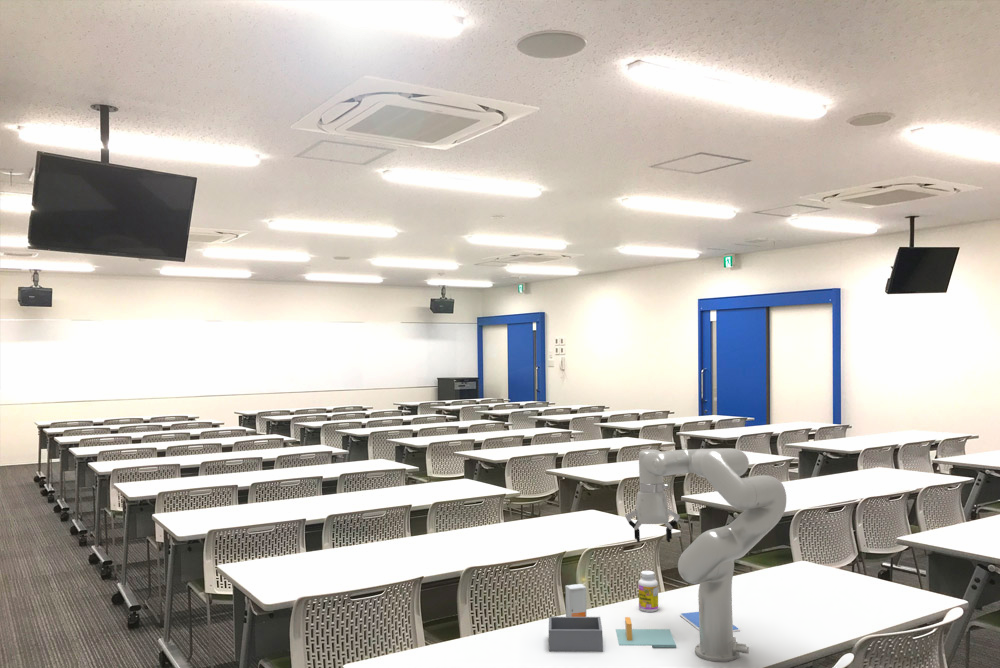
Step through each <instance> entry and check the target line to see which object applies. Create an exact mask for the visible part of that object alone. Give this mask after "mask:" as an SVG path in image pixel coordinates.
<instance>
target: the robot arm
mask: <svg viewBox="0 0 1000 668" xmlns="http://www.w3.org/2000/svg"><path fill="white" fill-rule="evenodd" d="M749 464H750V461H749V458H748V456H747V455H746V454H745V452H744V451H742V450H740V449H738V448H731V447H730V448H724V447H723V448H721V447H720V448H697V449H695V448H694V449H675V450H666V451H660V449H659V450H658V449H652V448H651V449H642V450H640V451H639V453H638V473H639V478H638V479H639V491H637V493H636V494H637V495H636V501H635V502H636V505H635V510H633V511H631V512H629V513H627V514H626V515H625V519H626V521H627V522H628V524H629V525H630V526H631V527H632V529H633V530H634V532H633V533H634V540H636V542H637V543H641V542H640V541H641V539H640V538H641V536H640V527H641V525H665V526H666V528H665V535H666V539H665V540H666V542H668V543H670V542H671V540H672V538H673V537H672V535H673V529H674V527H675V526H676V525H677V523H678V522H679V520H680V517H681V515H680V514H678V513H676V512H674V511H672V510H671V509H669V504H668V499H667V494H666V491H665V490H666V489H669V485H668V484H666V483H664V477H667V476H673V475H680V474H695V475H696V476H698V477H700V478H704V479H706V481H707V482H708V483H709V484H710V485H711V486H712V487H713V489H715V490H716V492H718V493H719V495H720V496H721V497H722V498H723V499H724V500H725V501H726V503H728V505H730V506H731V507H733V508H734V509H737V510H738V511H739V510H740V511H743V512H741V513H740V514H738V515H737V516H736V518H735V519H734V520H733V521H732V522H730V523H729V524H728V525H724V526H721V527H717V528H716V527H715V528H712V529H708V530H706V531H704V532H702V533H700V535H698V536H697V537H696V538H695V539H694V540H693V542H691V543H690V544H689V545H688V547H686V549H685V550H684V551H682V553H681V555H680V556H679V558H678V561H677V569H678V573H679V576H680V577H681V578H682V579H683V581H685V582H687V583H689V584H693V585H694V584H695V585H697V584H699V586H698V587H699V588H698V594H697V595H698V596H697V597H698V612H699V629H700V631H699V643H698V644H696V646H695V647H694V653H695V655H697V657H699V658H701V659H704V660H707V661H713V662H731V661H734V660H736V659H738V658H739V656H740V653H742V654H747V655H749V651H750V650H749V649H750V648H749V646H747V644H746V643H739V642H737V638H736V637H734V632H733V625H734V623H733V596H732V595H733V594H732V593H733V592H732V590H733V589H732V588H733V587H732V586H733V577H734V571H735V560H739V559H741V558H743V557H745V555H746V554H747V553H749V551H751V550H752V549H753V547H755V546H756V545H757V544H758V543H759V542H760V541H761V540H762V539H763V538H764V537H765V536H766V535H768V533H769V532H771V530H772V529H774V528H775V527H776V526H777V524H778V523H779V522H780V520H781V519H782V517H783V516H784V514H785V511H786V508H787V494H786V493H787V491H786V490H785V486H784V484H783V483H782V481H780V480H779V479H778V478H777V477H774V476H771V475H768V474H767V475H766V474H764V475H762V474H761V475H759V474H758V475H754V476H748V477H742V478H741V476H743V475H744V474H746V472H747V471H748V470H749V469H748V468H749V466H750V465H749ZM669 516H671V517H673V519H672V520H671V521H670V522H669V519H670V517H669ZM633 517H635V518H636V521H635V522H634V521H633V520H632V518H633Z"/></svg>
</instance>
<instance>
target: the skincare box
mask: <svg viewBox="0 0 1000 668" xmlns="http://www.w3.org/2000/svg"><path fill="white" fill-rule="evenodd" d="M564 587H565V589H564V590H565V617H587V587H586V586H585V585H584V584H582V583H578V584H576V583H575V584H567V585H565V586H564Z"/></svg>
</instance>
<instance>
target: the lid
mask: <svg viewBox="0 0 1000 668" xmlns="http://www.w3.org/2000/svg"><path fill="white" fill-rule="evenodd" d="M624 620H625V621H624V625H625V628H616V629H615V632H616V637H617V642H618V646H642V647H644V646H651V647H652V648H677V644H676V641H675V639H674V637H673V635H672V632H671V628H670V629H667V628H664V629H663V628H658V629H657V628H655V629H654V628H649V629H648V628H647V629H646V628H642V629H641V628H640V629H639V628H638V629H637V628H633V624H632V620H631V617H630V616H625V617H624Z"/></svg>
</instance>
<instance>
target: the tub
mask: <svg viewBox="0 0 1000 668" xmlns="http://www.w3.org/2000/svg"><path fill="white" fill-rule="evenodd" d="M603 638H604V637H603V627H602V621H601V616H586V617H566V616H549V617H548V652H556V653H557V652H558V653H559V652H560V653H561V652H563V653H564V652H565V653H566V652H569V653H570V652H571V653H572V652H573V653H577V652H579V653H581V652H587V653H588V652H590V653H591V652H592V653H595V652H596V653H598V652H599V653H603V652H604V646H603V645H604V642H603Z"/></svg>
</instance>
